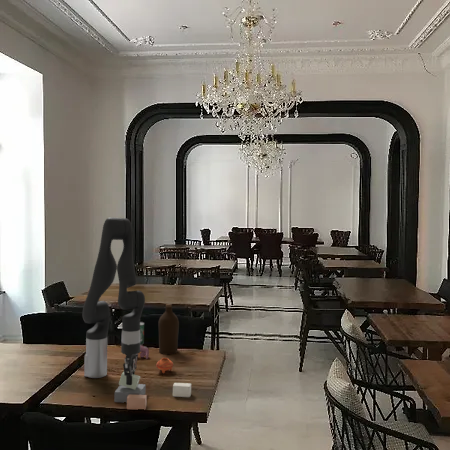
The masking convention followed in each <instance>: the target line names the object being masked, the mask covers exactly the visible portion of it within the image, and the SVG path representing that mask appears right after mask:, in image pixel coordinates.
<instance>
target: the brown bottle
mask: <svg viewBox="0 0 450 450" xmlns="http://www.w3.org/2000/svg"><path fill="white" fill-rule="evenodd" d="M157 323H158V325H157V326H158V351H159V353H160V354H163V355H172V354H176V353H177V352H178V343H179V342H178V340H179V329H180V321H179V318H178V316H177V315H176V314H175V312H173V303H166V304H165V311H164V312H163V314H161V315H160V316H159V319H158V322H157Z"/></svg>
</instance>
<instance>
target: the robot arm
mask: <svg viewBox="0 0 450 450" xmlns="http://www.w3.org/2000/svg"><path fill="white" fill-rule="evenodd" d="M102 226H103V227H102V231H101V232H102V233H101V239H100V244H99V249H98V253H97V257H96V262H95V265H94V269H93V274H92V279H91V282H90V286H89V290H88V292H87V295H86V298H85V300H84V304H83V308H82V312H81V313H82V315H81V317H82V320H83V321H84V323H85V324H94V326H92V327H91V328H89V329H87V331H86V332H85V333H86V336H85V338H86V339H85V341H86V342H85V347H86V349H85V354H84V366H83V367H84V368H83V369H84V371H83V373H84V374H83V376H84V377H88V378H90V379H91V378H92V379H98V378H103V377H106V376H107V375H108V374H107V373H108V333H109V327H110V307H109V304H108V303H107V302H106V301H105V300H100V298H101V297H102V296H103V294H104V293H105V292H106V291H107V290H108V289H109V288H110V287H111V285H112V284H113V283H114V280H115V278H116V274H117V277H118V283H119V284H118V285H119V287H118V296H117V305H118V306H119V308H120V309H122V310H124V311H125V310H131V312H130V313H127V314H124V315H123V316H122V320H121V323H122V324H121V325H122V327H121V343H120V345H121V347H120V348H121V350H120V352H121V353H122V354H123V355H125V357H124V362H123V363H122V368H123V372H124V375H125V376H126V384H127V385H132V375H133V374H135V373H136V370H137V368H138V366H137V365H138V357H139V354H140V353H141V352H140V346H141V345H140V322H141V317H142V313H143V310H144V306H145V304H146V302H145V301H146V298H145V297H146V296H145V294H144V292H142V291H141V290H130V291H128V288H132V287H134V286H136V285H137V283H138V280H137V274H136V270H135V263H134V262H135V261H134V241H133V240H134V239H133V226H132V222H131V221H130V219H128V218H126V217H125V218H124V217H107V218H106V219H105V221H104V223H103V225H102ZM114 240H117V241H122V242H123V249H122V252H121V255H120V257H119V259H118V261H116V259H115V257H114V255H113V253H112V248H111V247H112V242H113V241H114ZM128 372H129V373H128ZM135 375H136V374H135Z"/></svg>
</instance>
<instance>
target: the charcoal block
mask: <svg viewBox="0 0 450 450" xmlns="http://www.w3.org/2000/svg"><path fill="white" fill-rule="evenodd" d="M146 387H147V386H146V383H145V384H143V383H138V386H137V388H136V389H135V390H134V389H131V388H128V387H125V386H122V385H119V386H118V387H117V388H116V389H115V391H114V401H113V402H114V403H124V402H126V403H125V404H127V397H128V395H129V394H131V395H146Z"/></svg>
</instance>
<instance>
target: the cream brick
mask: <svg viewBox="0 0 450 450" xmlns="http://www.w3.org/2000/svg"><path fill="white" fill-rule="evenodd" d="M191 395H192V383H190V382H189V383H187V382H174V383H173V385H172V397H176V398H177V397H178V398H179V397H180V398H181V397H182V398H191Z"/></svg>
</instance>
